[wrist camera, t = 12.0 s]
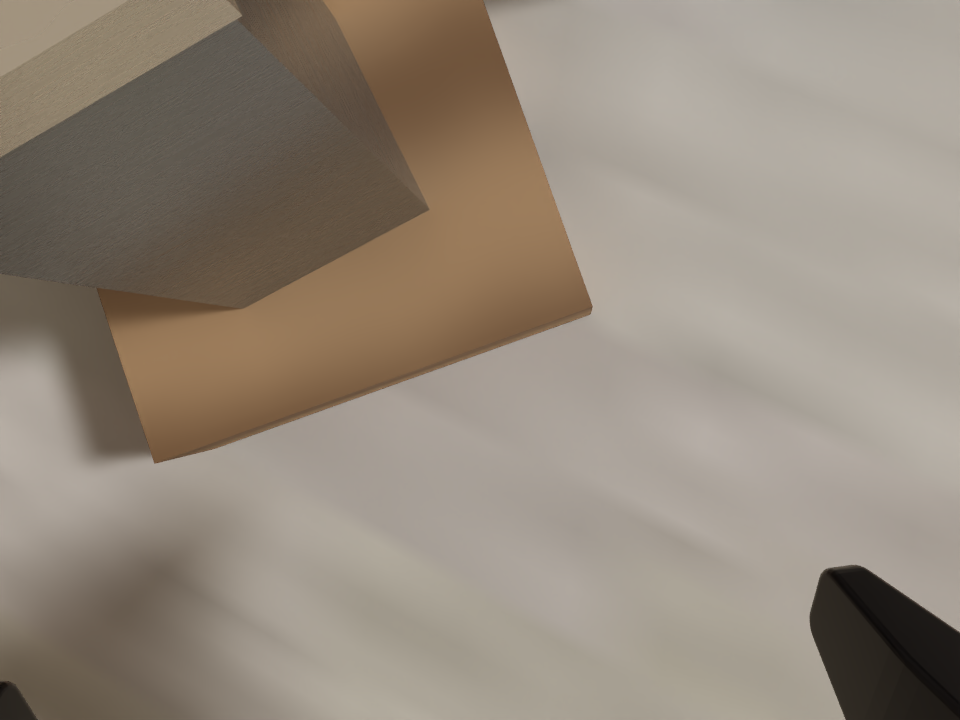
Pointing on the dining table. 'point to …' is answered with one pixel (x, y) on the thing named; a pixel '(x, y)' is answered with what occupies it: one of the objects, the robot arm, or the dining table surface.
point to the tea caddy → (189, 146)
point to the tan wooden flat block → (376, 255)
